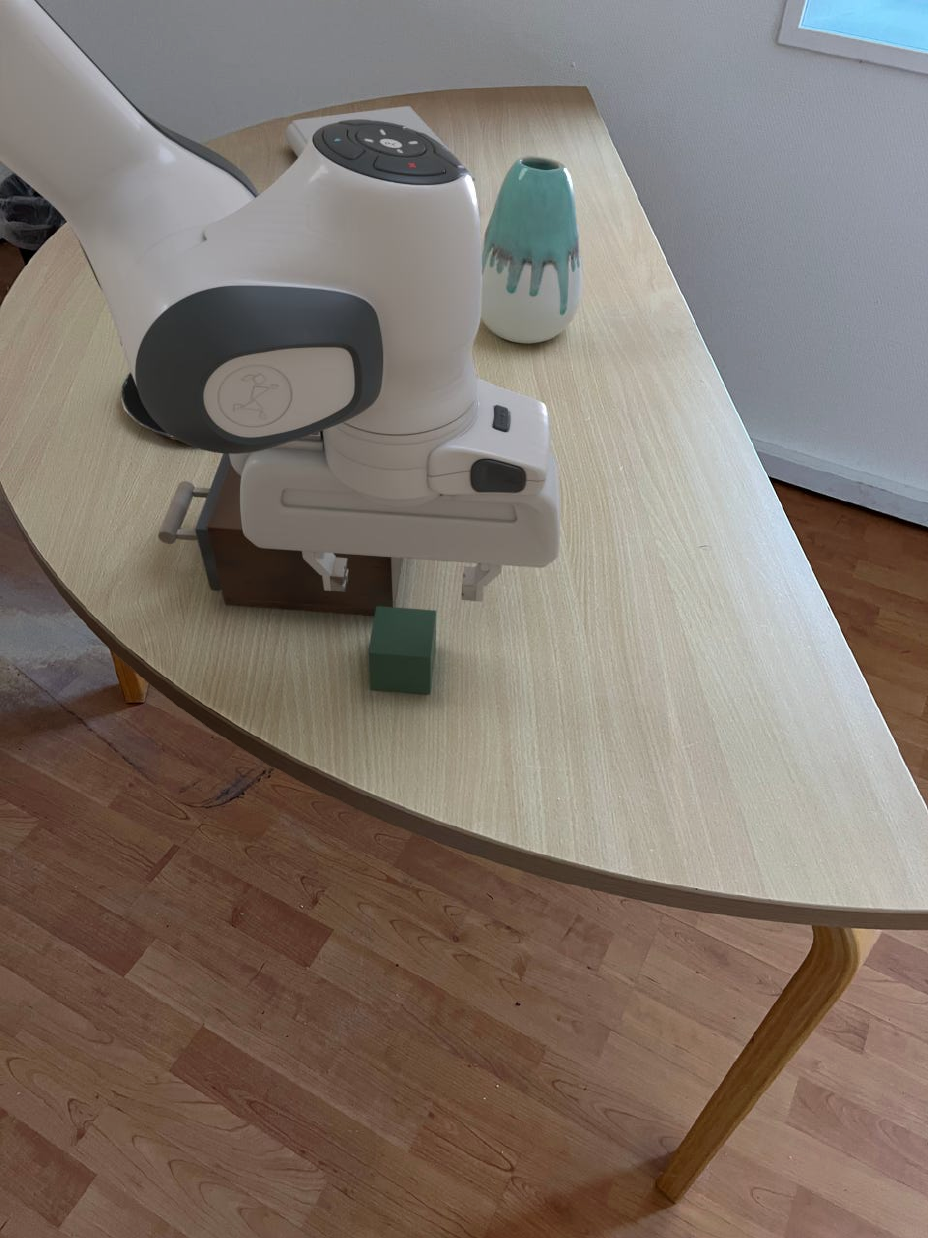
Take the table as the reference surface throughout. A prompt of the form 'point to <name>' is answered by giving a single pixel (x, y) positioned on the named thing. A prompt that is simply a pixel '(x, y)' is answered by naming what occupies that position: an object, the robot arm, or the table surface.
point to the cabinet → (290, 568)
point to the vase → (532, 254)
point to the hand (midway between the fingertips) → (404, 589)
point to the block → (402, 650)
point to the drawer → (178, 512)
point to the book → (305, 128)
